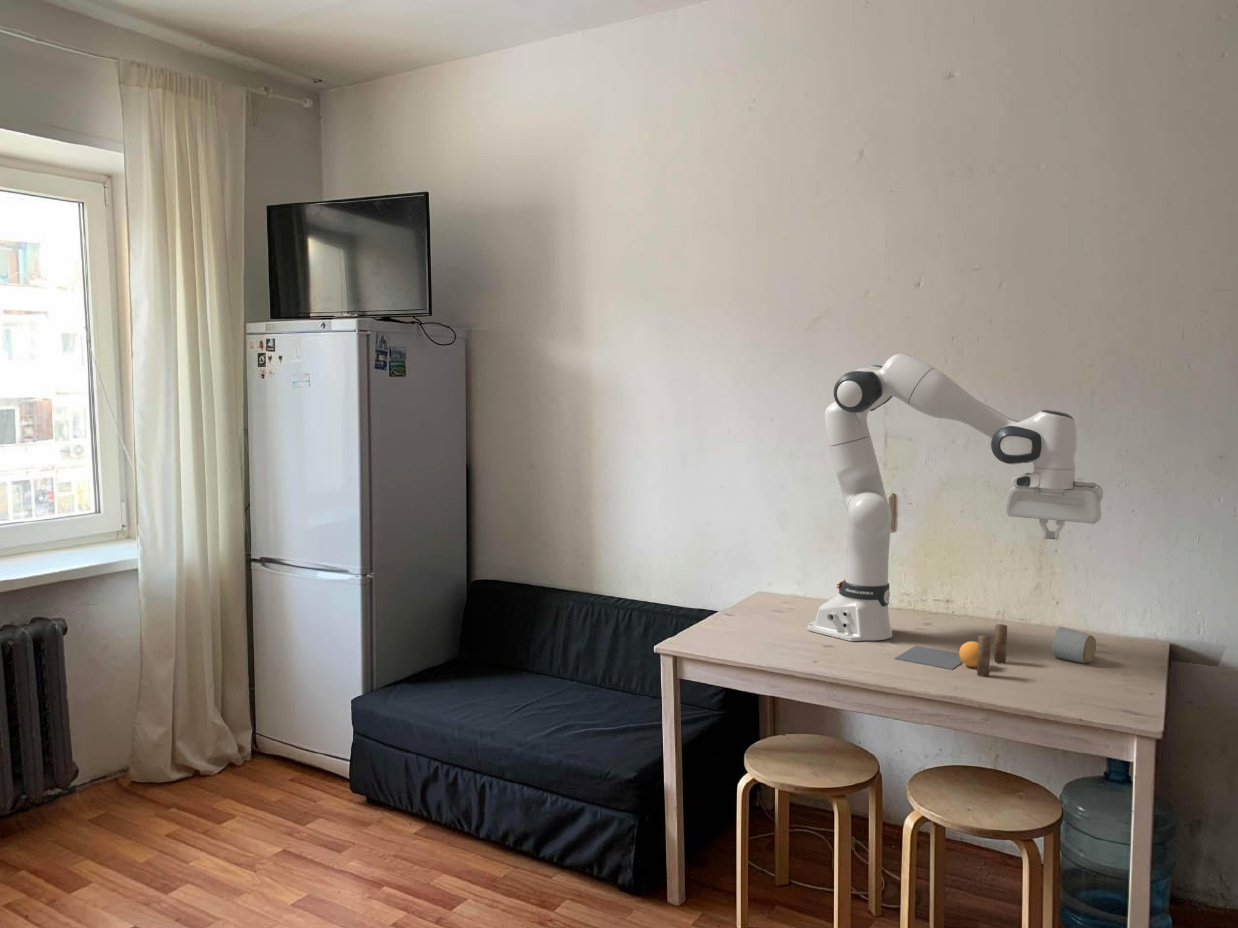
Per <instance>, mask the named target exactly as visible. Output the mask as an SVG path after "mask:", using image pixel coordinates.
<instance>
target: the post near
mask: <svg viewBox="0 0 1238 928" xmlns="http://www.w3.org/2000/svg"><path fill="white" fill-rule="evenodd" d="M977 640H978V641H977V643H978V664H977V667H976V669H977V670H976V671H977V672H976V676H979V677H984V678H986V677H987V678H988V677H990V666H991V665H990V663H991V662H990V661H991V636H989V635H979V636H978V639H977Z"/></svg>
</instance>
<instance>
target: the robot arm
mask: <svg viewBox="0 0 1238 928" xmlns="http://www.w3.org/2000/svg"><path fill="white" fill-rule="evenodd" d="M833 397H834V400H835V401H833V402H832V403H830V404H829V405H828V406H827V407H826V409H825V411H824V427H825V434H826V439H827V443H828V447H829V450H830V455H831V458H832V461H833V466H834V470H835V472H836V477H837V479H838V481H837V482H838V484H839V487H840V492H841V494H842V497H843V498H842V499H843V501H844V506H845V509H846V514H847V518H846V519H847V521H846V522H847V523H846V525H847V526H846V527H847V528H846V546H845V547H846V548H845V549H846V550H845V578H844V579H843V580H841V581H840V582H839V583H837V584H836V588H835V589H838V593H837V594H835V595H834V596H832V597H831V598H830V599H828V600H826V602H823V603H822V604H821V605H820V606H819V608H818V609H817V612H816V613H817V614H816V616H815V620H813V621H811V622H809V623H808V624H807V628H806V629H807V631H809V632H813V633H817V634H821V635H826V636H829V637H834V638H837V639H842V640H845V641H849V642H860V641H861V642H862V641H883V640H888V639H891V638H892V637H893V631H892V626H891V621H890V615H889V614H890V613H889V603H890V593H891V592H890V583H889V559H890V557H889V555H890V544H891V543H890V542H891V530H892V529H891V527H892V526H891V525H892V508H891V506H890V503H889V502H888V500H887V499H888V498H887V496H886V491H885V487H884V482H883V480H882V474H881V471H880V467H879V462H878V459H877V455H876V452H875V448H874V444H873V440H872V437H871V433H870V430H869V429H870V428H869V426H868V425H869V424H868V421H867V419H868V414H869V413H870V412H872V411H875V410H876V409H878V408H879V407H881V406H883V405H884V404H886V403H888V402H889V401H890V400H891V399H892V398H893V397H894V398H897V399H898V400H900V401H902V403H905V404H906V405H908V406H909V407H911V408H913V409H915V410H916V411H918V412H920V413H923V414H925V415H927V416H928V417H929V416H930V417H933V418H936V419H946V420H951V421H957V422H961V423H964V424H966V425H968V426H970V427H972V428H973V429H975V430H977V431H978V432H980V433H982V434H984V435H985V436H988V437H989V438H991V440H990V446H991V447H990V449H991V451H992V454H993V456H994V457H995V458H996V459H997V460H998V461H1000V462H1002V463H1004V464H1007V465H1014V466H1015V465H1020V464H1021V465H1022V464H1028V463H1029V464H1030V463H1032V464H1033V471H1032V472H1027V473H1024V474H1021V475H1017V476H1015V477H1013V478H1012V479H1011V485H1012V487H1011V488H1010V489H1009V491H1008V493H1007V497H1006V503H1005V513H1006V515H1007V516H1009V517H1012V518H1024V519H1026V518H1027V519H1036V520H1038V521H1039V522H1038V523H1039V525H1040V527H1041V530H1042V532H1043V539H1045V540H1059V538H1060V532H1061V531H1062V529H1063V528H1064V526H1065V525H1066V522H1070V523H1081V524H1082V523H1085V524H1093V525H1094V524H1097V523H1099V522H1100V521H1101V519H1102V507H1101V502H1102V500H1103V495H1104V492H1103V489H1102V486H1101V485H1099V484H1097V483H1096V482H1085V481H1076V464H1075V455H1076V451H1077V438H1078V437H1077V425H1076V421H1075V419H1074V418H1073V416H1071V415H1070V414H1069V413H1067V412H1066V413H1065V412H1061V411H1057V410H1050V409H1043V410H1040V411H1038V412H1037V413H1035V414H1034V415H1031V416H1030V417H1029V418H1026V419H1023V420H1015V419H1012V418H1010V417H1007V416H1006V415H1004V414H1002V413H1000V412H999V411H997V410H995V409H994V408H992V407H990V406H988V405H986V404H984V403H983V402H982V401H980V400H978V399H977V398H975V397H974V396H972V395H971V394H970V393H969V392H967V391H966V390H965V389H964V388H962V386H960V385H959V384H958V383H957V382H955V380H953V379H952V378H950V377H949V376H948V375H947V374H945V373H944V372H942V371H940V370H939V369H938V368H936V367H934V366H932V365H930V364H928V363H927V362H925V361H923V360H920V359H918V358H916V357H913V356H910V355H908V354H906V353H896V354H894V355H892V356H890V357H889V358H888V359H887V360H886V361H885V362H884V364H882V365H878V364H876V365H875V364H874V365H869V366H862V367H859V368H857V369H854V370H852V371H849V372H846V373H844V374H843V375H841V376H840V378H839V379H837V381H836V383H835V384H834V387H833ZM1049 521H1055V522H1056V524H1055V525H1056V526H1057V528H1056V529H1055V530H1049V528H1048V525H1047V524H1048V523H1049Z"/></svg>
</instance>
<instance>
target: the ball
mask: <svg viewBox="0 0 1238 928" xmlns="http://www.w3.org/2000/svg"><path fill="white" fill-rule="evenodd" d="M958 653H959V656H960V659H961V661H962V663H963V664H964V665H965V666H967V667H971V668H977V664H978V641H966V642H965V643H963V644H962V645H961V646H960V648H959V652H958Z"/></svg>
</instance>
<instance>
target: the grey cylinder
mask: <svg viewBox="0 0 1238 928" xmlns="http://www.w3.org/2000/svg"><path fill="white" fill-rule="evenodd" d="M1051 644H1052V646H1051V650H1052V651H1051V652H1052V655H1053V656H1054V657H1055V658H1057V659H1062V660H1067V661H1071V662H1075V663H1080V664H1089V663H1091V662H1092V661H1093V659H1094V657H1095V656H1096V651H1097V640H1096V639H1095V637H1094V636H1093V635H1092V634H1090V633H1087V632H1082V631H1079V630H1075V629H1072V628H1068V627H1064V626H1059V627H1058V628H1057V629H1056V630H1055V632H1054V635H1053V637H1052V643H1051Z"/></svg>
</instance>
